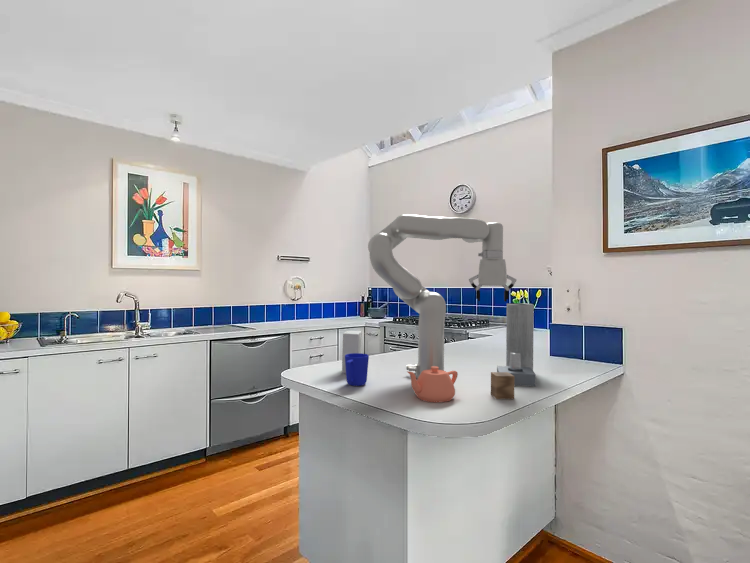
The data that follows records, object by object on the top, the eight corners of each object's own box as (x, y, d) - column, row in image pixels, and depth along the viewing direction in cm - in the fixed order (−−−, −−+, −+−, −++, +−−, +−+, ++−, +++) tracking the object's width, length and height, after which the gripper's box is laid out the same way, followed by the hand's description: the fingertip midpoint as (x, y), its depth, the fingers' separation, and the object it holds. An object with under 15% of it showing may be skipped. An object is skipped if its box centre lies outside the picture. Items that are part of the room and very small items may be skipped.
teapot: (468, 400, 124) (468, 368, 124) (416, 407, 117) (416, 373, 117) (445, 390, 135) (446, 361, 135) (396, 396, 128) (397, 365, 128)
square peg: (496, 399, 125) (496, 376, 125) (490, 394, 131) (490, 372, 131) (514, 399, 126) (514, 376, 126) (507, 394, 131) (508, 372, 131)
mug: (335, 388, 136) (336, 358, 136) (350, 380, 147) (350, 352, 147) (358, 391, 133) (359, 360, 133) (371, 382, 144) (372, 354, 144)
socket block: (499, 384, 144) (499, 372, 144) (496, 376, 156) (497, 365, 156) (535, 386, 141) (535, 374, 141) (530, 378, 153) (530, 367, 153)
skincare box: (346, 368, 167) (346, 330, 167) (362, 369, 166) (362, 330, 166) (341, 373, 159) (341, 332, 159) (358, 374, 158) (358, 333, 158)
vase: (537, 372, 163) (537, 303, 163) (527, 376, 155) (527, 304, 155) (512, 368, 169) (512, 302, 169) (501, 372, 162) (502, 303, 162)
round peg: (510, 382, 147) (510, 353, 147) (509, 379, 150) (509, 352, 150) (520, 382, 146) (521, 354, 146) (519, 380, 150) (519, 352, 150)
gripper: (468, 255, 154) (468, 301, 154) (517, 255, 150) (517, 302, 150) (469, 256, 162) (468, 300, 162) (515, 256, 158) (515, 301, 158)
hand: (492, 301), depth 156 cm, fingers open, 9 cm apart
